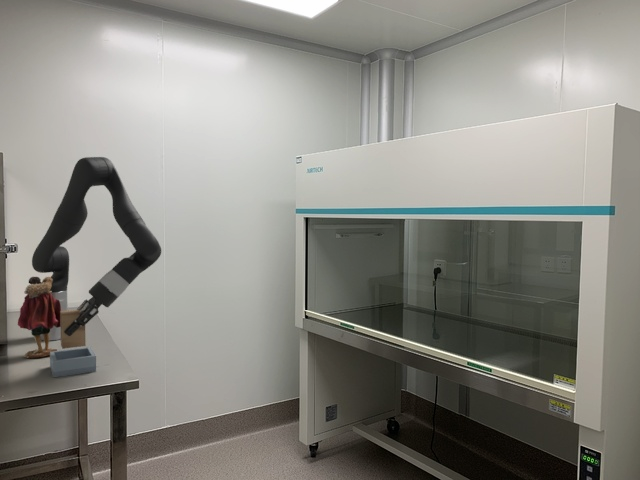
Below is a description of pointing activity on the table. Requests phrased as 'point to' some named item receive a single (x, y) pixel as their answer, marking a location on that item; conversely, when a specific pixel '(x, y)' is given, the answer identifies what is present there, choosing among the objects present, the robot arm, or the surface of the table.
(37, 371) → the table surface
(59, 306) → the figurine
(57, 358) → the open box
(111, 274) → the robot arm
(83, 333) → the tan wooden block
